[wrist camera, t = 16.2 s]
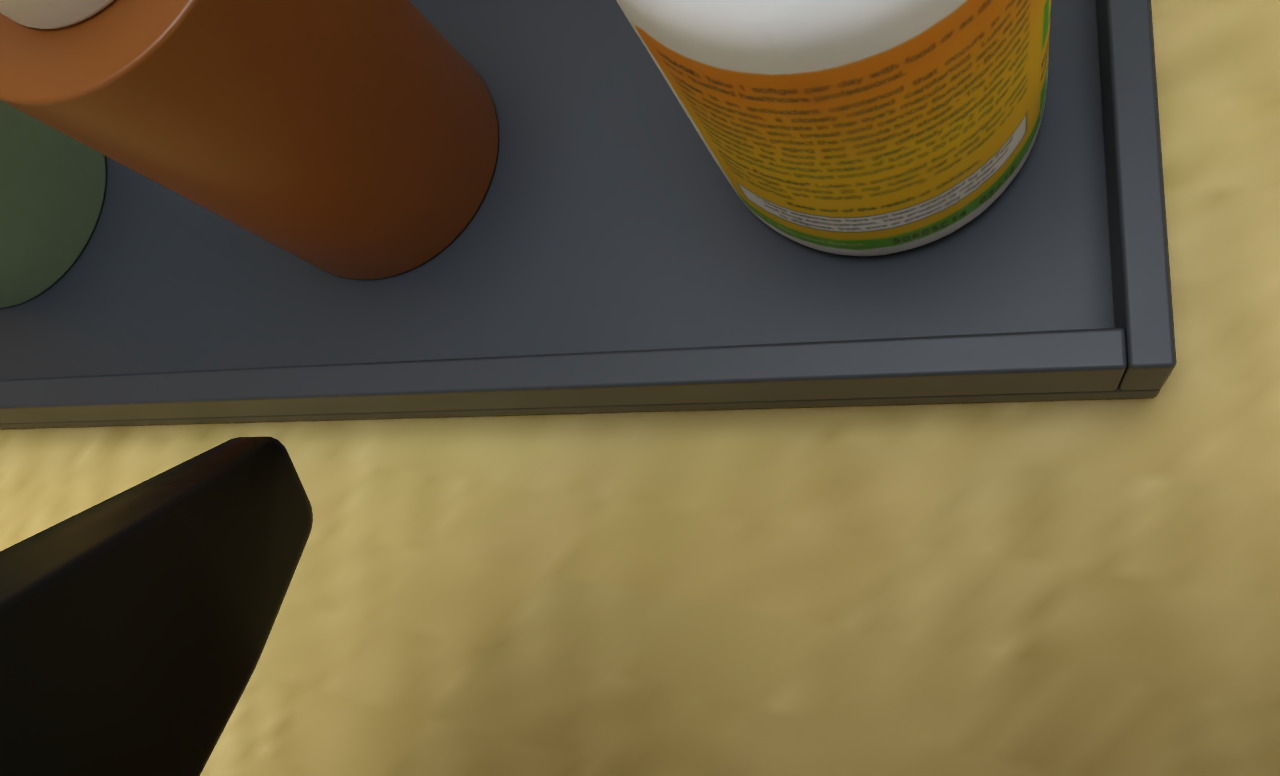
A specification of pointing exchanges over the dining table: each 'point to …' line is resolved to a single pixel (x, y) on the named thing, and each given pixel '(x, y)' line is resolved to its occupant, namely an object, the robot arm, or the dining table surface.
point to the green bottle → (43, 203)
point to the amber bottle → (271, 115)
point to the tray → (628, 268)
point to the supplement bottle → (857, 107)
